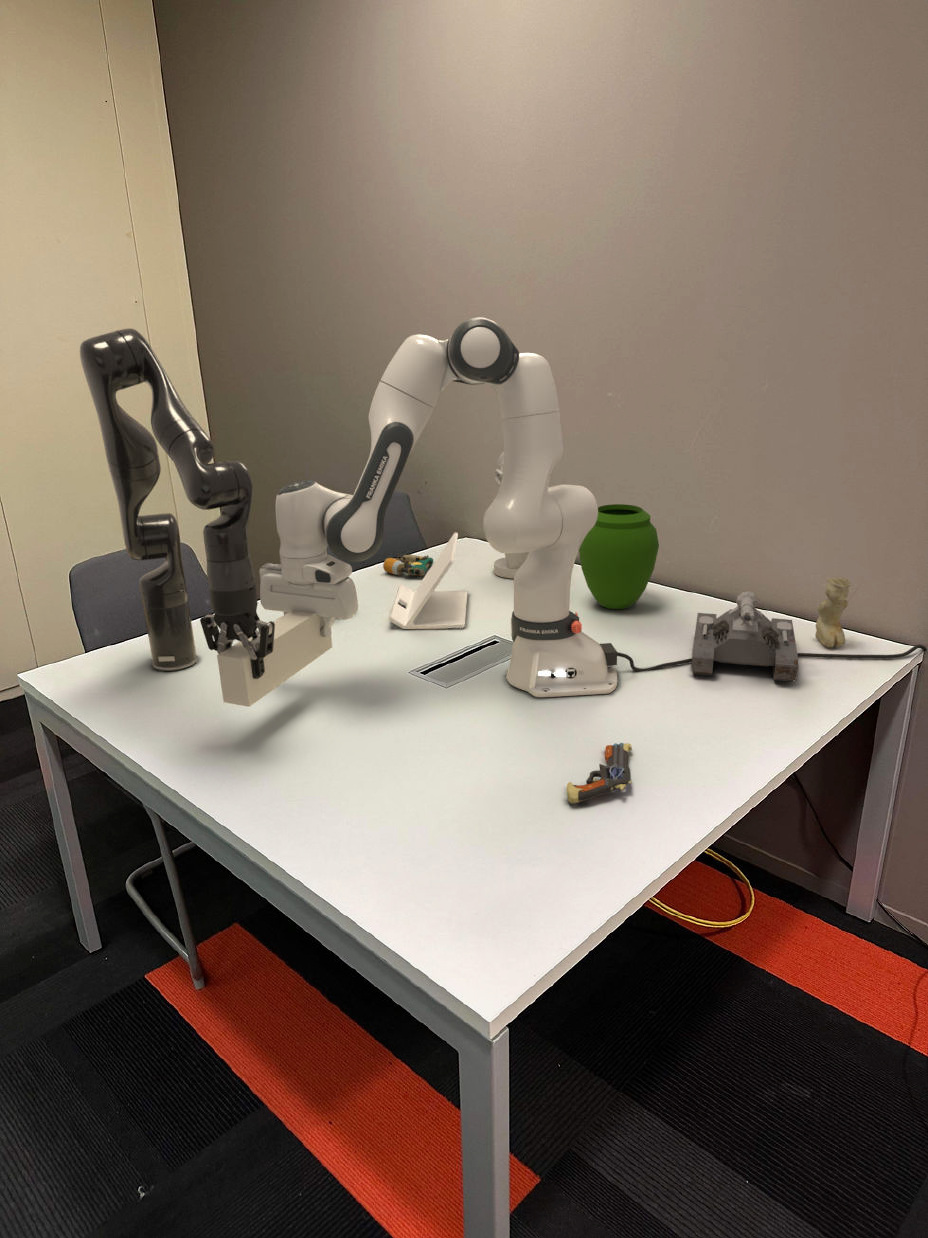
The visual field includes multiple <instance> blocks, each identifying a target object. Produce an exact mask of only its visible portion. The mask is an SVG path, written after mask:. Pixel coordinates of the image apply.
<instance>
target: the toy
mask: <svg viewBox="0 0 928 1238" xmlns="http://www.w3.org/2000/svg"><path fill="white" fill-rule="evenodd" d="M735 602H736V607H734V608H732V609H731V608H730V609H729V610H727V611H725V612H724V613H722V614H721V615H720V616H718V617H717V613H705V612H697V615H696V622H695V631H694V639H693V647H692V655H691V658H692V662H691V667H690V669H691V672H692V675H700V676H701V675H702V676H712V674H713V670H714V662H717V663H720V664H721V663H722V664H731V665H732V664H734V665H742V666H743V665H745V666H755V667H756V666H758V667H772V678H773V681H781V682H790V683H793V682H795V681H797V676H798V670H799V657H798V654H797V653H798V649H797V642H796V635H795V630H794V624H793V619H787V618H774V617H772V618H771V619H770V618H768V617H767V616H766V615H765V614H763V612H761V611H760V610H758V609H757V608H756V607H757V604H758V598H757V596H756V595H755V593H753V592H752V591H742V592H741V593H740V594H738V595H737V597H736V601H735Z"/></svg>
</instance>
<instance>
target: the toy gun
mask: <svg viewBox="0 0 928 1238" xmlns="http://www.w3.org/2000/svg"><path fill="white" fill-rule="evenodd" d="M632 748H633V746H632V744H631V743H629V742H628V743H624V742H619V743H617V742H616V743H614V744H607V745H606V746H605V750H604V760H605V761H606V762H607V764H606V765H605V764H601V763H599V770H592V771H590V772H589V776H588V778H587V779H586V780H585V783H586V784H579V785H578V784H573V782H572V781H569V782H568V783H567V784H566V797H567V800H568V802H569V804H579V803H580V802H584V801H588V800H591V799H594V798H597V797H599V796H602V795H607V794H608V793H612V792H614V791H616V790H618V789H619V790H620V791H624V789H625V788H626V787H627V785H628V784H631V783H632V781H631V779H632V778H631V777H632V775H631V769H630V767H629V752H631V751H633V749H632ZM595 778H599V779H595Z"/></svg>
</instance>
